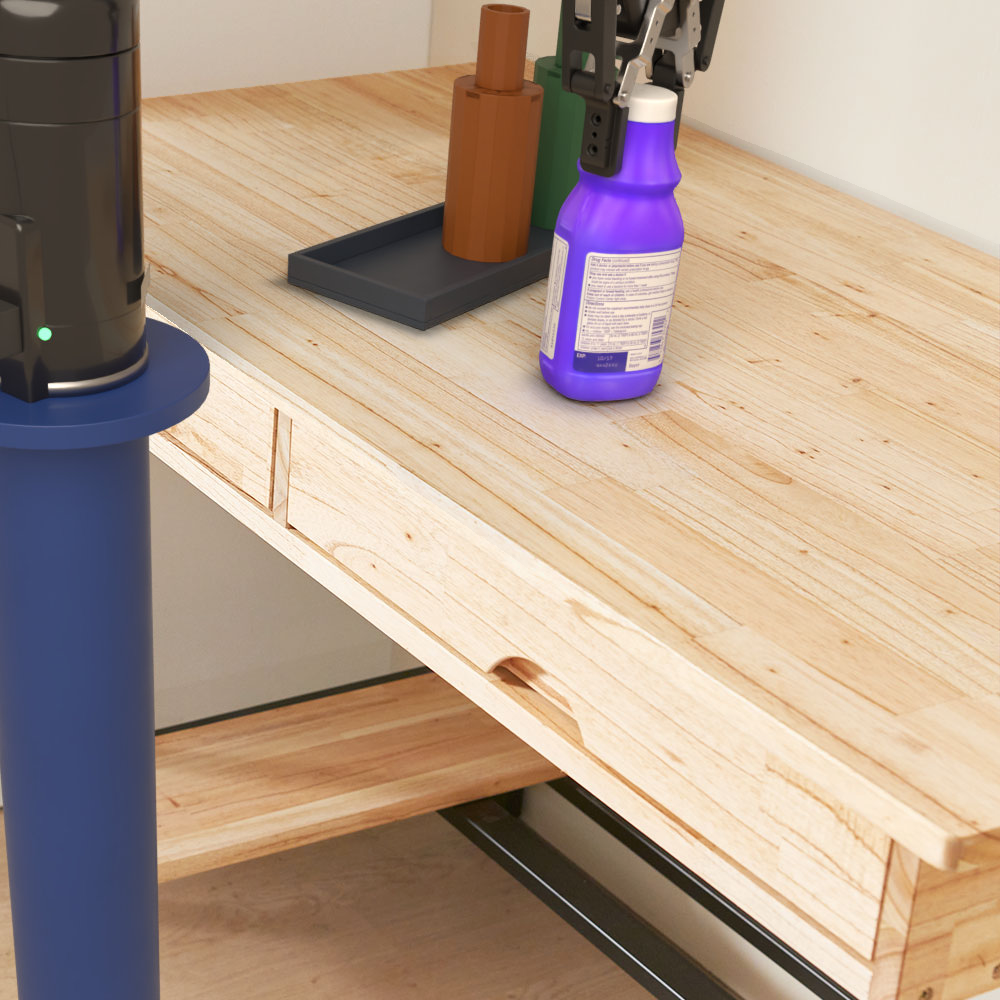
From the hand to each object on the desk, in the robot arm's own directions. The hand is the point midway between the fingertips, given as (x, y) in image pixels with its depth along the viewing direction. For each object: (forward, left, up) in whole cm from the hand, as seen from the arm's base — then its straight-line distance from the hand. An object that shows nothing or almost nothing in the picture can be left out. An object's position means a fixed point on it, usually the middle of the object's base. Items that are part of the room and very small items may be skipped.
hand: (628, 161), depth 84 cm
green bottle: (+24, +18, -14) cm, 33 cm away
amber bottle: (+14, +18, -14) cm, 26 cm away
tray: (+14, +18, -14) cm, 26 cm away
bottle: (0, 0, -14) cm, 14 cm away
